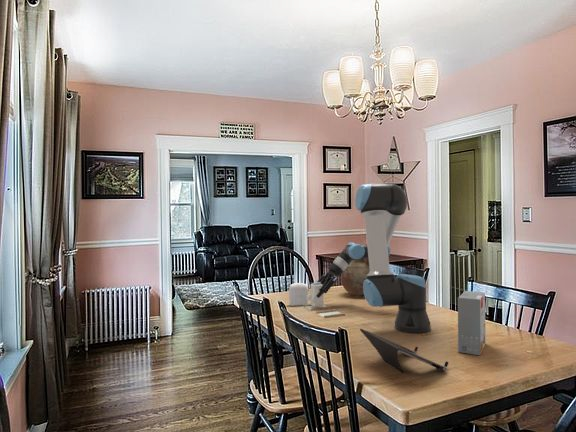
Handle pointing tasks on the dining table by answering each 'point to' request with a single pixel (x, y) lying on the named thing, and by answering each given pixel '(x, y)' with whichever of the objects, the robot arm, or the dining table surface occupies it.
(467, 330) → the hard drive box
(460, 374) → the dining table surface
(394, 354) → the portable electronic device stand
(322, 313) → the dock board
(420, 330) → the robot arm
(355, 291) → the jug
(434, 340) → the dining table surface
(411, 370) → the dining table surface
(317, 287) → the white rectangular box
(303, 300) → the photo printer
